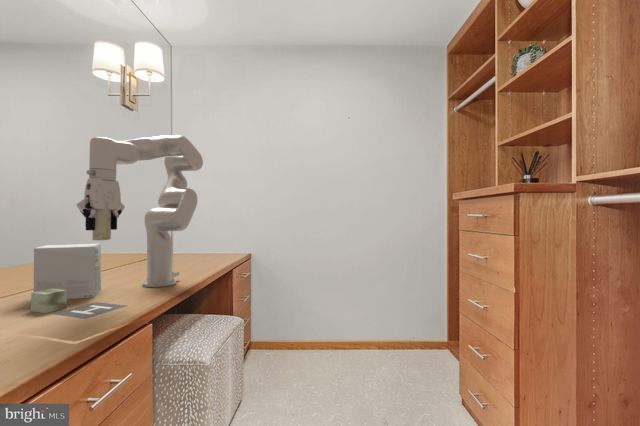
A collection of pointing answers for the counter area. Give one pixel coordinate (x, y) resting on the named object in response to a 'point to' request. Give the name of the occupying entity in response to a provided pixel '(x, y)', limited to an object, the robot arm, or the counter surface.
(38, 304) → the sage block
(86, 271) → the supplement box
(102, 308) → the letter card
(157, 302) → the counter surface
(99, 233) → the skincare box
